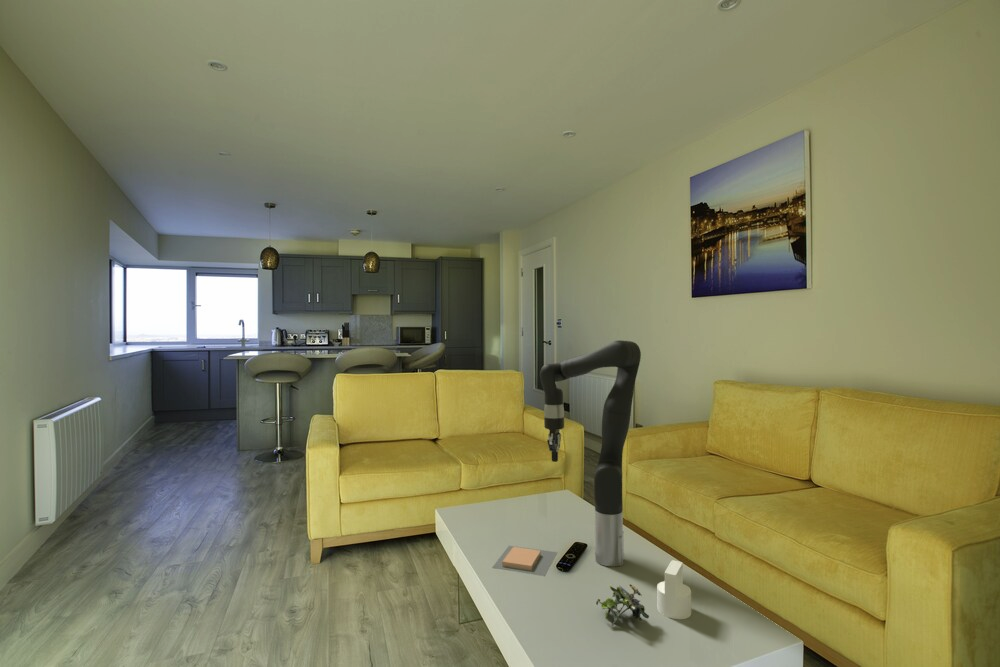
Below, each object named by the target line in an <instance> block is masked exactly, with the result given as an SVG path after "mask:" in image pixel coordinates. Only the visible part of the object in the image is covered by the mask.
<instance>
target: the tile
mask: <svg viewBox="0 0 1000 667" xmlns="http://www.w3.org/2000/svg"><path fill="white" fill-rule="evenodd" d="M518 547H519V546H516V547H513V548H512V549H511V551H510V552H509V553H508V555H507V556H506V557H505V559H504V560H503V561H502V566H503V567H510V568H516V569H523V570H529V571H532V569H533V567H534V566H535V564H536V562H537V561H538V559H539V557H540V556H541V551H540V550H541V549H537V550H533V549H534V548H530V549H525V548H526V547H523V548H518Z"/></svg>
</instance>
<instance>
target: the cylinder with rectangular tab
mask: <svg viewBox="0 0 1000 667" xmlns="http://www.w3.org/2000/svg"><path fill="white" fill-rule="evenodd" d="M683 564H684V562H682V561H679V560H674V559H672V560H671V561H670V563H669V564H668V566H667V568H665V571H664V580H663V581H660V582H658V583H657V585H656V596H657V597H656V605H657V607H656V608H657V611H658V612H659V614H661V615H663V616H664V617H667V618H669V619H674V620H686V619H688V618H690V616H691V615H692V589H691V588H690V587H689V586H688V585H687V584H685V583H683V582H684V579H683V578H684V574H683V573H684V572H683V568H684V565H683Z"/></svg>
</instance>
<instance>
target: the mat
mask: <svg viewBox="0 0 1000 667" xmlns="http://www.w3.org/2000/svg"><path fill="white" fill-rule="evenodd" d="M513 547H518V548H525V549H531V548H529V547H521V546H517V545H516V546H515V545H508V546H507V547H506V548H505V550H504V551H503V552H502V554H501V555H500V556H499V558H498V559H497V560H496V562H495V563H494V564H493V566H492V567H491V568H492V569H497V570H504V571H511V572H517V573H522V574H531V575H537V576H541V577H545V576H546V575H547V573H548V571H549V569H550V567H551V566H552V564H553V561H554V560H555V558H556V556H557V553H558V552H557V551H550V550H544V549H539V550H540V551H541V556H540V557H539V559H538V561H537V562H536V564H535V566H534V567H533V569H532V571H529V570H523V569H516V568H510V567H503V566H502V561H503V560H504V559H505V557H506V556H507V555H508V553H509V552H510V551H511V549H512V548H513ZM532 549H533V550H538V549H536V548H532Z"/></svg>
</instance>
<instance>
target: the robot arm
mask: <svg viewBox="0 0 1000 667" xmlns="http://www.w3.org/2000/svg"><path fill="white" fill-rule="evenodd" d="M641 354H642V353H641V348H640V346H639V345H638V344H637V343H636V342H634V341H630V340H614V341H611V343H608V344H606V345H604V346H602V347H600V348H599V349H596V350H594V351H591V352H589V353H585V354H581V355H578V356H577V355H576V356H574V357H571V358H567V359H565V360H563V361H562V362H561V361H560V362H556V363H548V364H544V365H543V366H542V367H541V369H540V372H539V377H540V382H541V387H542V390H543V393H544V394H543V395H544V410H543V415H544V417H543V420H544V426H543V427H544V428H545V429H546V430H549V431H548V432H549V433H548V434H547V445H548V450H549V452H551V462H554V463H558V461H559V451H560V448H561V441H562V433H561V432H560V430H563V429H564V428H565V408H564V393H563V390H562V389H561V388H558V387H557V382H562V381H566V380H568V379H571V378H577V377H580V376H583V375H584V376H585V375H587V374H589V373H591V372H593V371H595V370H597V369H602V368H611V367H612V368H617V371H616V377H615V381H614V383H613V386H612V387H611V390H610V391H609V393H608V395H607V396H606V399H605V401H604V403H603V407H602V408H603V410H602V418H601V450H600V454H599V459H598V462H597V466H596V468H595V472H594V476H593V496H594V499H593V500H594V528H595V529H594V532H595V533H594V534H595V535H594V538H595V540H594V542H595V546H594V550H595V553H594V554H595V561H596V562H597V564H600V565H602V566H606V567H617V566H619V567H620V566H621V567H623V563H624V560H625V558H624V557H625V552H624V551H625V549H624V548H625V544H624V541H625V540H624V539H625V538H624V529H623V528H624V524H623V522H624V521H623V513H624V512H623V509H624V508H623V506H624V505H623V504H624V503H623V452H624V446H625V443H626V439H627V437H628V433H629V428H630V421H631V416H632V407H633V406H632V405H633V400H634V399H633V398H634V392H635V386H636V380H637V375H638V371H639V366H640V364H641V363H640V362H641V358H642V357H641V356H642V355H641Z"/></svg>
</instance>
